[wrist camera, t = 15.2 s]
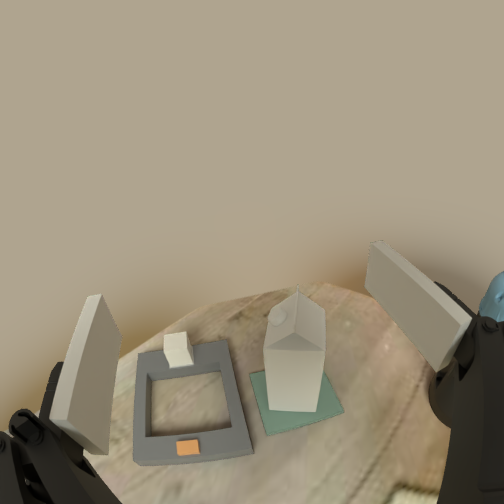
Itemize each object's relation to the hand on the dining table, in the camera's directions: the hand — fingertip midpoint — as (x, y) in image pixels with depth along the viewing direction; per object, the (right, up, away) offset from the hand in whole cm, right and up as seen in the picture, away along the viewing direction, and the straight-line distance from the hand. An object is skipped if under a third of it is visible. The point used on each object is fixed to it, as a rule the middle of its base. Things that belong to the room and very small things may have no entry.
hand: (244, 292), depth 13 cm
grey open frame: (-10, -23, +27) cm, 37 cm away
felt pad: (+7, -21, +27) cm, 35 cm away
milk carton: (+7, -21, +27) cm, 35 cm away
